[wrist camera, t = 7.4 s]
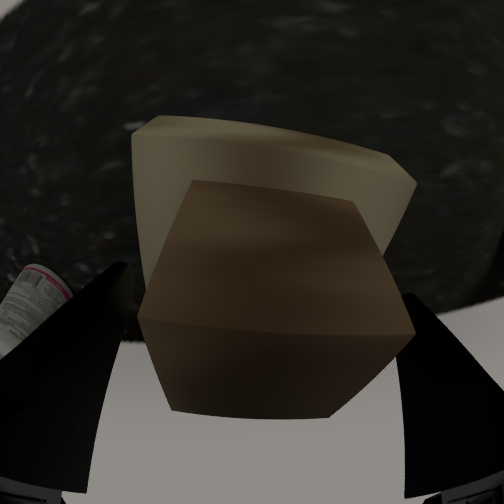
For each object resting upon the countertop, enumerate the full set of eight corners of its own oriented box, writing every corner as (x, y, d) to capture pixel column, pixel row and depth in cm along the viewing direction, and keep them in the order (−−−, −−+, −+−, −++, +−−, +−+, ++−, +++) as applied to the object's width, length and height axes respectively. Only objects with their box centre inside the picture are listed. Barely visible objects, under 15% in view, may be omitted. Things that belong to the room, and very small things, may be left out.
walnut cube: (353, 201, 8) (416, 333, 4) (312, 304, 11) (328, 417, 8) (192, 179, 8) (137, 316, 4) (192, 293, 11) (171, 410, 7)
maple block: (384, 151, 10) (417, 183, 8) (322, 297, 16) (330, 340, 13) (162, 113, 9) (131, 134, 7) (166, 278, 15) (152, 321, 13)
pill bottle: (65, 316, 18) (28, 410, 11) (20, 280, 15) (-28, 371, 9) (85, 294, 16) (38, 409, 9) (31, 249, 13) (-33, 358, 7)
